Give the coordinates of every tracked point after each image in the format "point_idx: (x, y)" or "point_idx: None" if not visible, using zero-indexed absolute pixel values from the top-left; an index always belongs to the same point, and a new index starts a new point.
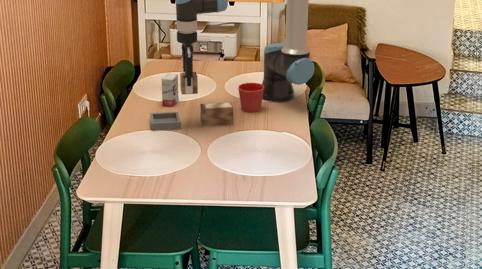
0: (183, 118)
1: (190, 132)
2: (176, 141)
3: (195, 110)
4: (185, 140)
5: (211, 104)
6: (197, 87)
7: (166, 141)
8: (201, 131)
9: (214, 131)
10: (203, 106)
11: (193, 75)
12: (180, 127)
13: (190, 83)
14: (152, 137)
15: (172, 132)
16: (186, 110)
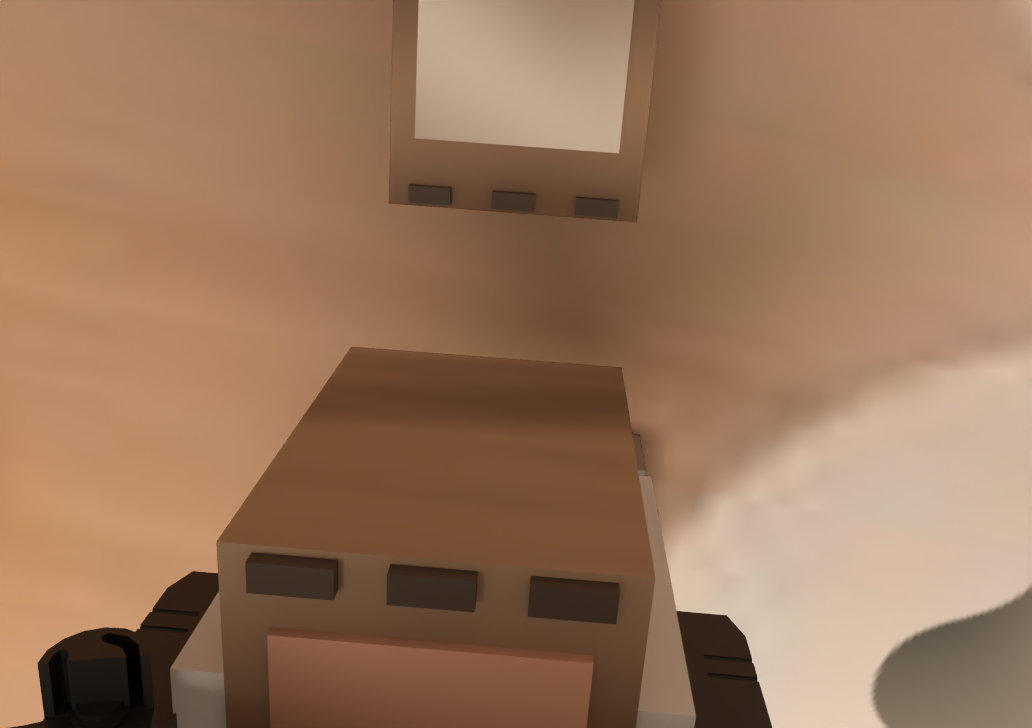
0: (326, 351)
1: (773, 353)
2: (971, 533)
3: (70, 161)
4: (980, 445)
5: (468, 28)
6: (629, 423)
7: (934, 620)
8: (782, 225)
9: (832, 64)
10: (522, 179)
11: (594, 682)
12: (640, 444)
13: (751, 677)
14: (786, 717)
15: (715, 530)
16: (65, 270)
